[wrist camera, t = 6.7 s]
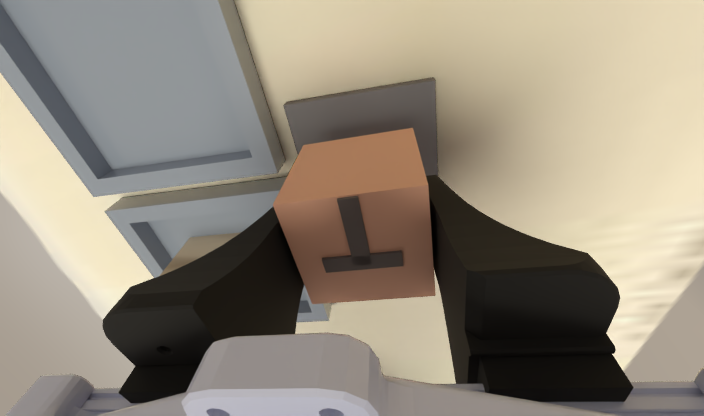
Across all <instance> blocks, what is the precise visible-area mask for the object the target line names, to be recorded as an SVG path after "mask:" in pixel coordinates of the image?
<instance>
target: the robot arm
mask: <svg viewBox="0 0 704 416" xmlns="http://www.w3.org/2000/svg"><path fill="white" fill-rule="evenodd" d="M426 178H427V182H428V188H429V203H430V219H431V235H432V250H433V266H434V270H435V274H436V277H437V281H438V284H439V288H440V292H441V297H442V303H443V308H444V314H445V319H446V325H447V331H448V337H449V343H450V349H451V355H452V361H453V367H454V373H455V379H456V384H430V383H424V382H418V381H412V380H406V379H400V378H394V377H388V376H383V374H382V371H381V367H380V363H379V359H378V357H377V356H376V355H375V353H374V352H373V350H372V349H371V348H370V346H368V345H367V344H366V343H364V342H362V341H360V340H358V339H355V338H353V337H351V336H349V335H342V334H333V333H310V334H295V329H296V322H297V316H298V310H299V304H300V299H301V295H302V291H303V288H304V282H303V280H302V277H301V275H300V272H299V270H298V267H297V265H296V262H295V260H294V257H293V255H292V252H291V250H290V247H289V245H288V242H287V240H286V237H285V235H284V232H283V230H282V227H281V225H280V222H279V220H278V217H277V215H276V212H275V210H274V207H272V208H271V209H270V210H269V211H267V212H266V213H265V214H264V215H263V216H262V217H260V218H259V219H258V220H257V221H255V222H254V223H253V224H251V225H250V226H249V227H248V228H246V229H245V230H244V231H242V232H241V233H240V234H238V235H237V236H235V237H234V238H232V239H231V240H229V241H228V242H226V243H225V244H223V245H222V246H220V247H218V248H216V249H215V250H213V251H211V252H209V253H207V254H206V255H204V256H202V257H200V258H198V259H196V260H194V261H192V262H190V263H188V264H186V265H184V266H182V267H180V268H178V269H175V270H173V271H171V272H168V273H166V274H164V275H161V276H159V277H156V278H153V279H151V280H148V281H145V282H143V283H140V284H137V285H135V286H132V287H130V288H129V289H128V291H127V292H126V293H125V294H124V295H123V297H122V298H121V299H120V300H119V301H118V302H117V304H116V305H115V306H114V307H113V308H112V309H111V310H110V312H109V313H108V314H107V315H106V317H105V318H104V319H103V330H104V332H105V335H106V336H107V338H108V339H109V340H110V341H111V343H112V344H113V345H114V346H115V347H116V348H117V349H118V350H120V352H122V353H123V354H124V355H125V356H126V357H127V358H128V359H129V360H130V361H131V362H132V363H133V364H134V365H135V368H134V369H133V371H132V372H131V374H130V376H129V377H128V378H127V380H126V382H125V383H124V385H123V386H122V388H94V387H93V385H92V384H91V383H90V382H89V381H87V380H86V379H84V378H83V377H81V376H78V375H73V374H53V375H42V376H40V377H39V378H38V379H37V381H36V382H35V383H34V384H33V385H32V386H31V387H30V388H29V390H27V392H26V393H25V394H24V395H23V396H22V397H21V398H20V400H19V401H18V402H17V403H16V404H15V405H14V406H13V407H12V408H11V410H9V412H8V413H7V414H6V415H5V416H704V367H703V368H702V369H701V370H700V371H699V372H698V374H697V376H696V378H695V380H694V381H653V382H651V381H650V382H630V381H629V380H628V378H627V376H626V375H625V373H624V372H623V370H622V369H621V367H620V366H619V364H618V363H617V361H616V360H615V358H614V357H613V355H612V354H614V352H615V346H614V344H613V343H612V341H611V340H610V339H609V337H608V336H607V334H606V332H607V330H608V328H609V326H610V323H611V321H612V319H613V317H614V315H615V313H616V310H617V308H618V305H619V300H620V295H619V291H618V288H617V287H616V285H615V284H614V283H613V282H612V280H611V279H610V278H609V277H608V275H607V274H606V273H605V272H604V270H603V269H602V268H601V267H600V266H599V265H598V264H597V262H596V261H595V260H594V259H593V258H592V257H591V256H590V255H589V254H588V253H585V252H581V251H578V250H574V249H570V248H566V247H563V246H559V245H555V244H552V243H549V242H546V241H543V240H540V239H537V238H534V237H531V236H529V235H526V234H524V233H521V232H519V231H516V230H514V229H512V228H510V227H507V226H505V225H503V224H501V223H499V222H497V221H495V220H494V219H492V218H490V217H488V216H486V215H485V214H483V213H481V212H480V211H478V210H477V209H475V208H474V207H472V206H471V205H470V204H468V203H467V202H466V201H464V200H463V199H462V198H461V197H459V196H458V195H457V194H456V193H455V192H454V191H452V190H451V189H450V188H449V187H448V186H447V185H446V184H445V183H444V182H443V181H442V180H441V179H440V178H439V177H438V176H437V175H429V176H426Z"/></svg>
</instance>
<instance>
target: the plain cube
mask: <svg viewBox="0 0 704 416" xmlns="http://www.w3.org/2000/svg"><path fill="white" fill-rule="evenodd" d="M240 233H241V232H240ZM240 233H230V234H220V235H209V236H199V237H190V238H189V239H188V241H187V242H186V243H185V244H184V246H183V247H182V248H181V249H180V251H179V252H178V253H177V254H176V256H175V257H174V258H173V259H172V261H171V262H170V263H169V264H168V266H167V267H166V268H165V270H164V271H163V272H162V273H161V275H164V274H166V273H168V272H171V271H173V270H175V269H178V268H180V267H182V266H184V265H186V264H188V263H190V262H192V261H194V260H196V259H198V258H200V257H202V256H204V255H206V254H207V253H209V252H211V251H213V250H215V249H216V248H218V247H220V246H222V245H223V244H225V243H226V242H228V241H229V240H231V239H232V238H234V237H235V236H237V235H238V234H240ZM161 275H160V276H161Z"/></svg>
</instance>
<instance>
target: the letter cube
mask: <svg viewBox="0 0 704 416" xmlns="http://www.w3.org/2000/svg"><path fill="white" fill-rule="evenodd" d="M273 207H274V210H275V212H276V215H277V217H278V220H279V222H280V225H281V227H282V230H283V232H284V235H285V237H286V240H287V242H288V245H289V247H290V250H291V252H292V255H293V257H294V260H295V262H296V265H297V267H298V270H299V272H300V275H301V277H302V280H303V282H304V285H305V287H306V290H307V292H308V295H309V297H310V300H311V303H312V304H323V303H337V302H351V301H366V300H380V299H394V298H409V297H423V296H435V281H434V266H433V250H432V235H431V219H430V203H429V188H428V182H427V178H426V174H425V171H424V167H423V163H422V160H421V156H420V152H419V148H418V145H417V141H416V137H415V134H414V130H413V128H408V129H402V130H395V131H389V132H383V133H377V134H370V135H364V136H358V137H351V138H345V139H339V140H332V141H326V142H320V143H314V144H307V145H303V147H302V149H301V151H300V153H299V155H298V157H297V158H296V160H295V162H294V164H293V166H292V168H291V170H290V172H289V174H288V176H287V178H286V180H285V182H284V184H283V186H282V188H281V190H280V191H279V193H278V195H277V197H276V199H275V201H274V203H273Z"/></svg>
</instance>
